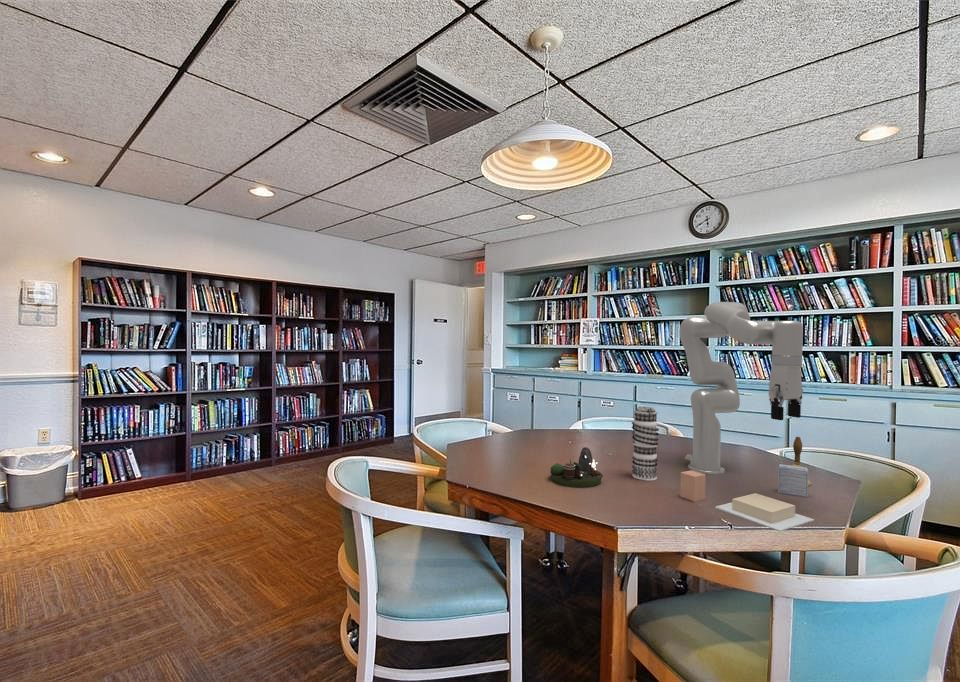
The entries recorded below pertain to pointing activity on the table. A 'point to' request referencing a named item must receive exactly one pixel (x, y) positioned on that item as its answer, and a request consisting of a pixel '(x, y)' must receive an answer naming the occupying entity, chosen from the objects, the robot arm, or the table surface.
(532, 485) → the table surface
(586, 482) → the toy scene
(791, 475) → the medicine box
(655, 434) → the black white tall cylinder
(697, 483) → the terracotta block
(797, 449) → the hand bell
